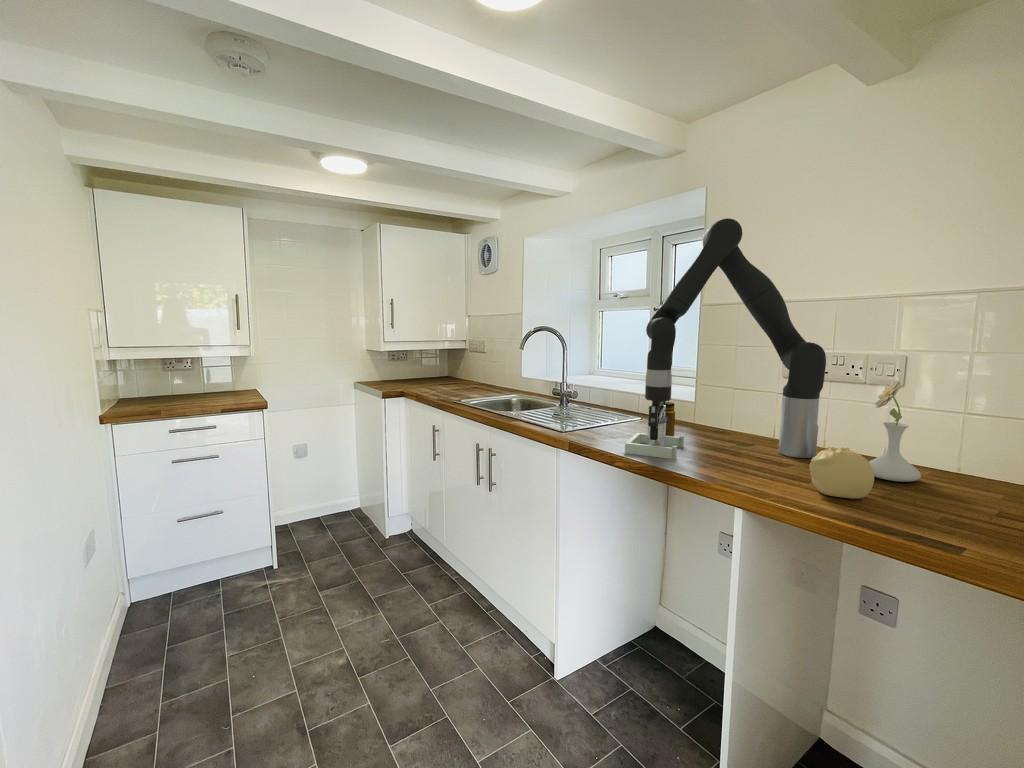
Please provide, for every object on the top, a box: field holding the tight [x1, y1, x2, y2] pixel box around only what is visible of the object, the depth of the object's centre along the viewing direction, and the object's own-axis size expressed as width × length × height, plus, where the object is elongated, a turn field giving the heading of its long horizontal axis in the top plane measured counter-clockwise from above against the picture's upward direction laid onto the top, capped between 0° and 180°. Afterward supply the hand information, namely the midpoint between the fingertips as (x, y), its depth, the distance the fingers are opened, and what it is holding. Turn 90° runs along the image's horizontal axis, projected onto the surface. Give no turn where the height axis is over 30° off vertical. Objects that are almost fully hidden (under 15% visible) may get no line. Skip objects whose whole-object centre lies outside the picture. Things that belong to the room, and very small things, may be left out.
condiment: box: [665, 401, 679, 437], centre depth 162 cm, size 7×8×12 cm
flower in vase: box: [868, 379, 922, 483], centre depth 116 cm, size 13×11×25 cm
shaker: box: [646, 415, 666, 447], centre depth 145 cm, size 5×5×10 cm
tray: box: [624, 432, 685, 460], centre depth 145 cm, size 15×16×4 cm
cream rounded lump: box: [809, 446, 875, 499], centre depth 106 cm, size 11×12×11 cm
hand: (656, 436), depth 145 cm, fingers open, 8 cm apart
